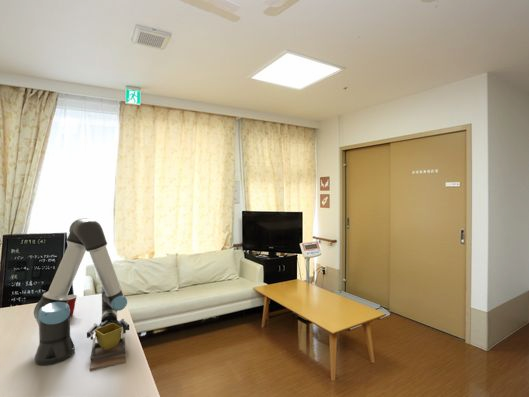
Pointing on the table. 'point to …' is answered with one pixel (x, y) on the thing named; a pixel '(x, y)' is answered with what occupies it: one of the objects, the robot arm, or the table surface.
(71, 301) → the plastic cup
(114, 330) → the flower pot
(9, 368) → the table surface
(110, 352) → the tray
